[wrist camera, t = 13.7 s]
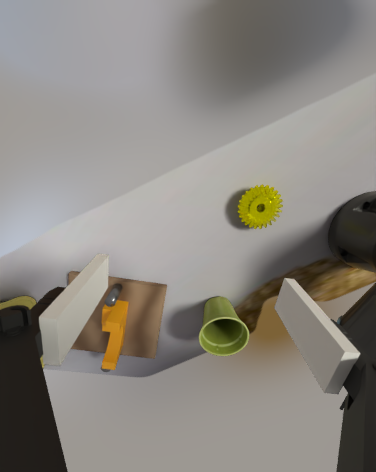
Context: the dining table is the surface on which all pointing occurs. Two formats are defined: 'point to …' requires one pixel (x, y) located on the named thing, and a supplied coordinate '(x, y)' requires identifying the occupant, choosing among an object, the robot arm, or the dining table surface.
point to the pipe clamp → (114, 331)
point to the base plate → (127, 319)
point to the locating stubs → (113, 302)
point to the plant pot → (222, 328)
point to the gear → (266, 209)
